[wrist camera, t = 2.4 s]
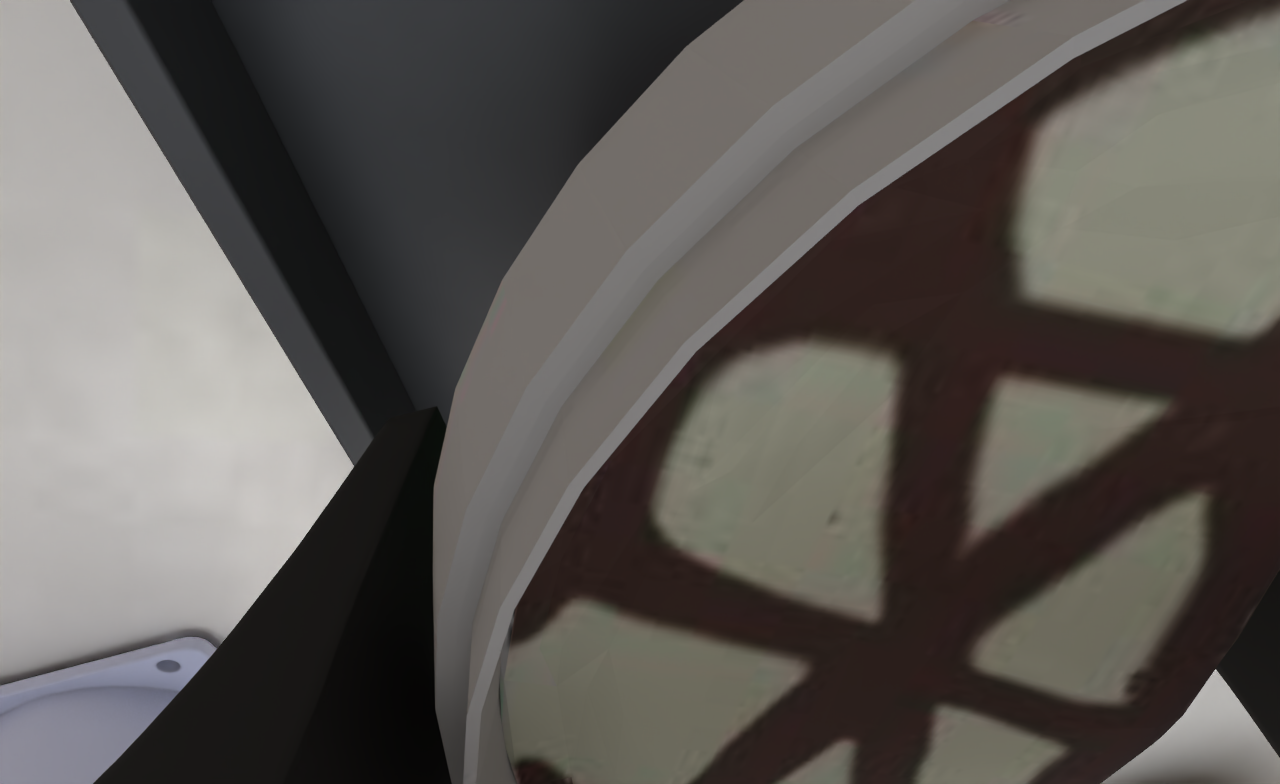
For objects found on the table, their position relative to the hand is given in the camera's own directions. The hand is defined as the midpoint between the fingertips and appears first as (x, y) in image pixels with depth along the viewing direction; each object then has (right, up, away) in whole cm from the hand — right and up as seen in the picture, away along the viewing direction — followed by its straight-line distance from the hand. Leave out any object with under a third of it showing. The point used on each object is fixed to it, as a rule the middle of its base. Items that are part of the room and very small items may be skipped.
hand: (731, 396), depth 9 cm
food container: (0, +3, +4) cm, 5 cm away
